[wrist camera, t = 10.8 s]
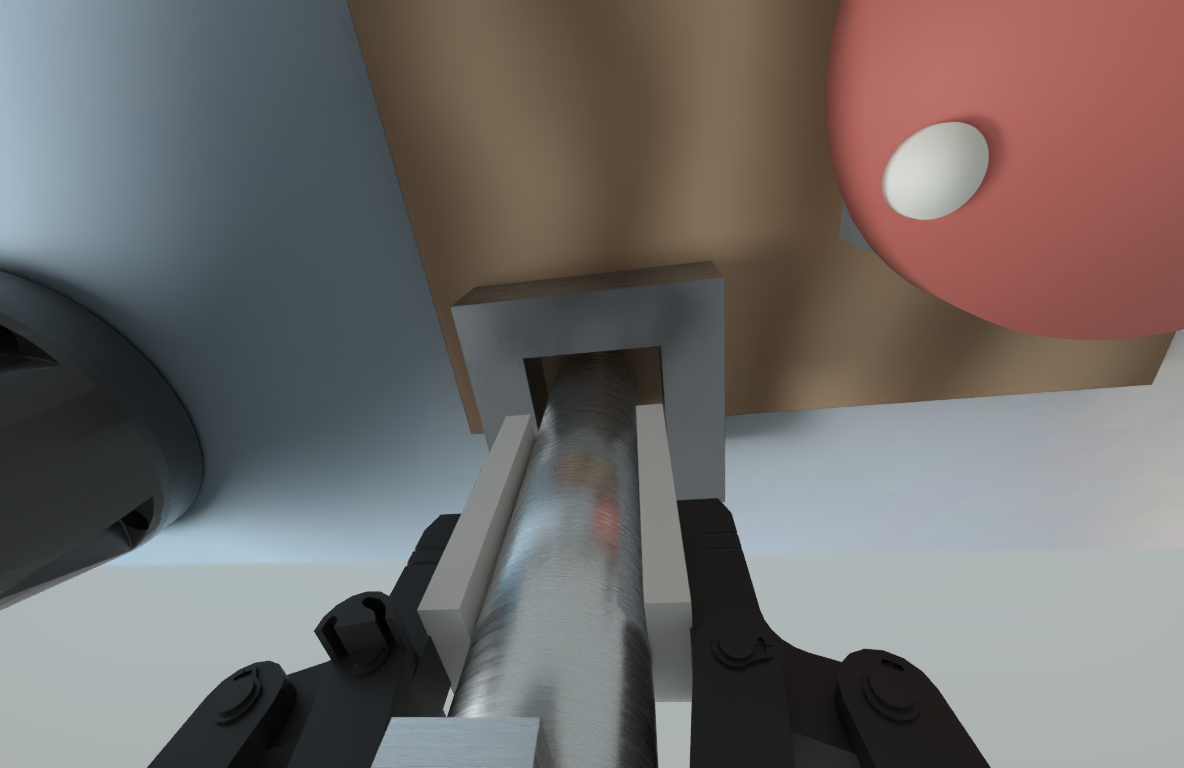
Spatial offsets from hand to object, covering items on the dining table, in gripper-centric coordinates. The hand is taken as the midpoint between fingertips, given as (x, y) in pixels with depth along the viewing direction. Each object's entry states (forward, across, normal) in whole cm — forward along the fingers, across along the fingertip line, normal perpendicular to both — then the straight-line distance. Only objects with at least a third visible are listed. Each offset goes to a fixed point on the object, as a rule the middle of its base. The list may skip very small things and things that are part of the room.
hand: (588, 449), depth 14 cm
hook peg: (+4, 0, 0) cm, 4 cm away
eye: (+5, 0, 0) cm, 5 cm away
